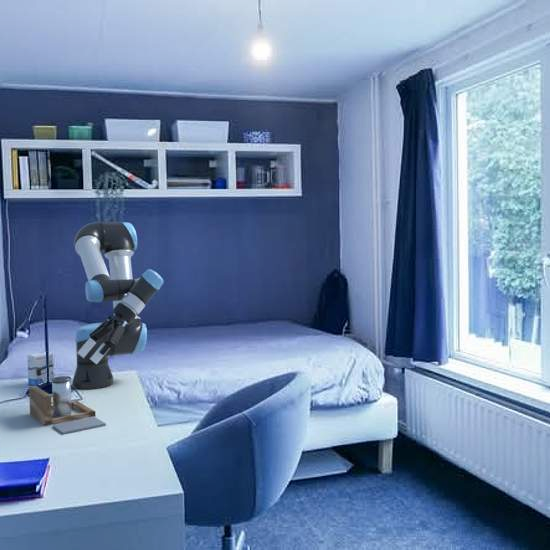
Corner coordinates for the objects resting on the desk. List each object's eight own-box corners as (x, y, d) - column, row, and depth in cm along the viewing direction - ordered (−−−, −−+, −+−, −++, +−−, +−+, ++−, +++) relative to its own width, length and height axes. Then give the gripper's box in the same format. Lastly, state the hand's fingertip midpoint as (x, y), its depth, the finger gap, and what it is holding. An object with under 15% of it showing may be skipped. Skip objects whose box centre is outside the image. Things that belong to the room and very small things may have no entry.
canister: (68, 411, 201) (67, 375, 200) (74, 415, 196) (73, 378, 196) (50, 414, 197) (48, 378, 197) (56, 419, 193) (54, 381, 192)
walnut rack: (77, 405, 208) (76, 379, 207) (95, 416, 195) (94, 388, 195) (30, 414, 198) (28, 386, 198) (45, 425, 186) (44, 396, 185)
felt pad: (94, 418, 193) (94, 416, 193) (105, 425, 185) (105, 423, 185) (52, 426, 185) (52, 425, 185) (62, 434, 178) (62, 432, 178)
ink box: (35, 386, 235) (33, 356, 234) (27, 385, 238) (26, 354, 237) (54, 382, 242) (53, 352, 241) (47, 380, 245) (46, 351, 244)
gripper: (107, 299, 218) (67, 346, 210) (134, 304, 197) (90, 357, 190) (122, 312, 221) (83, 359, 213) (150, 319, 200) (107, 371, 193)
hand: (86, 358), depth 202 cm, fingers open, 13 cm apart
